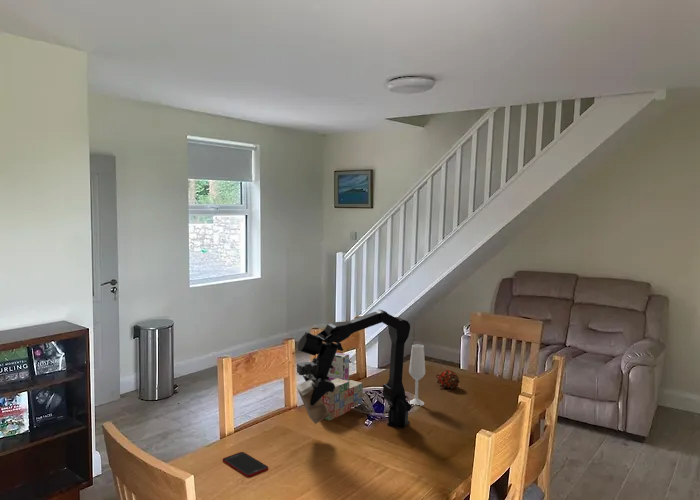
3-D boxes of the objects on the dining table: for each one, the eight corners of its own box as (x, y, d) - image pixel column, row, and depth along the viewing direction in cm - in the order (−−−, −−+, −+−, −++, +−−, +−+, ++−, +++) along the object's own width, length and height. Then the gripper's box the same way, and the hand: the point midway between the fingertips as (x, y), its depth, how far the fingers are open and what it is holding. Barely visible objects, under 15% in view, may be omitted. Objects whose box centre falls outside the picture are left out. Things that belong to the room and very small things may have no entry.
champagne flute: (423, 406, 216) (425, 348, 214) (407, 405, 217) (408, 347, 215) (424, 400, 222) (426, 344, 221) (408, 399, 224) (410, 343, 222)
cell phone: (242, 454, 172) (242, 451, 172) (269, 470, 162) (269, 467, 162) (221, 461, 167) (221, 458, 167) (248, 479, 156) (248, 475, 156)
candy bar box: (349, 391, 233) (350, 354, 231) (343, 394, 228) (344, 357, 227) (327, 386, 238) (327, 350, 236) (321, 390, 233) (321, 353, 232)
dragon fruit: (458, 395, 235) (437, 391, 244) (466, 380, 240) (445, 377, 249) (449, 381, 232) (428, 378, 241) (458, 367, 237) (437, 364, 246)
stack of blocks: (350, 401, 220) (351, 372, 219) (362, 405, 217) (363, 375, 216) (316, 416, 203) (316, 385, 203) (329, 421, 200) (329, 389, 199)
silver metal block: (323, 410, 188) (310, 378, 185) (329, 415, 183) (315, 383, 180) (310, 418, 187) (296, 386, 184) (315, 424, 182) (301, 391, 179)
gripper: (296, 346, 190) (280, 387, 188) (313, 359, 172) (295, 406, 171) (323, 354, 194) (308, 395, 193) (342, 369, 177) (326, 414, 176)
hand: (308, 402), depth 183 cm, fingers closed on silver metal block, 5 cm apart
